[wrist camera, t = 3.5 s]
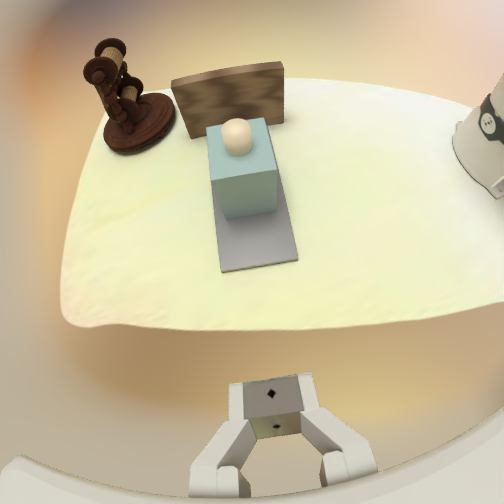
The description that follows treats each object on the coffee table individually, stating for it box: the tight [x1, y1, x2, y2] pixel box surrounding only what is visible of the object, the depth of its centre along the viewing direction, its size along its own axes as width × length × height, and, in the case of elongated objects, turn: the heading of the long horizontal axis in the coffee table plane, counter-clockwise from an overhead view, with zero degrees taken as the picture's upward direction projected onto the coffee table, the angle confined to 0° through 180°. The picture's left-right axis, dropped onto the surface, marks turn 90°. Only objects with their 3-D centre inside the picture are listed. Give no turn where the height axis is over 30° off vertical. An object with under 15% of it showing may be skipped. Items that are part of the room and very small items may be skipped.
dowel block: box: [206, 118, 277, 220], centre depth 33 cm, size 7×8×13 cm
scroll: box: [83, 38, 175, 152], centre depth 37 cm, size 15×15×20 cm
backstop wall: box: [171, 61, 284, 139], centre depth 38 cm, size 16×2×12 cm, turn 99°
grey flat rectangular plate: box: [211, 122, 298, 273], centre depth 39 cm, size 10×24×1 cm, turn 9°
